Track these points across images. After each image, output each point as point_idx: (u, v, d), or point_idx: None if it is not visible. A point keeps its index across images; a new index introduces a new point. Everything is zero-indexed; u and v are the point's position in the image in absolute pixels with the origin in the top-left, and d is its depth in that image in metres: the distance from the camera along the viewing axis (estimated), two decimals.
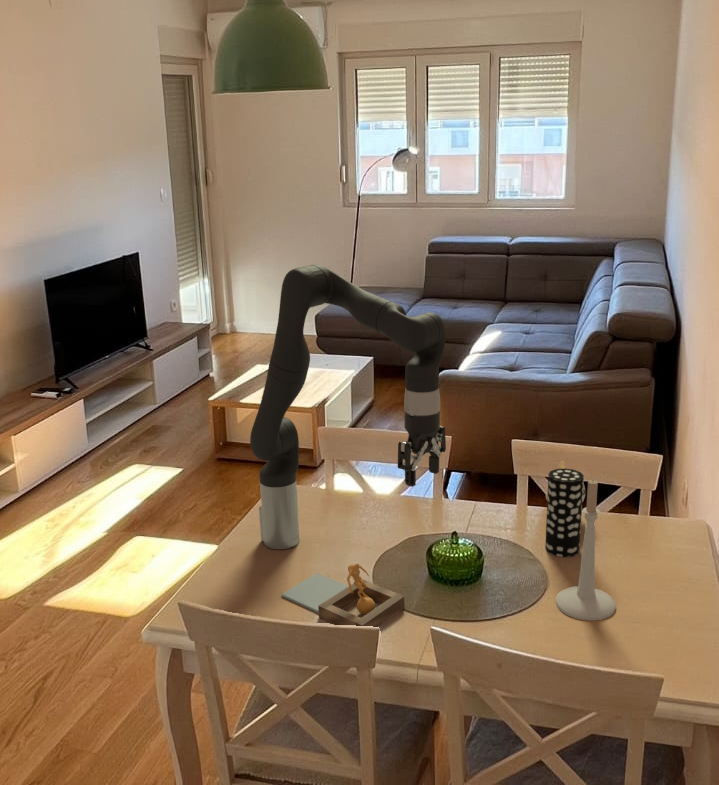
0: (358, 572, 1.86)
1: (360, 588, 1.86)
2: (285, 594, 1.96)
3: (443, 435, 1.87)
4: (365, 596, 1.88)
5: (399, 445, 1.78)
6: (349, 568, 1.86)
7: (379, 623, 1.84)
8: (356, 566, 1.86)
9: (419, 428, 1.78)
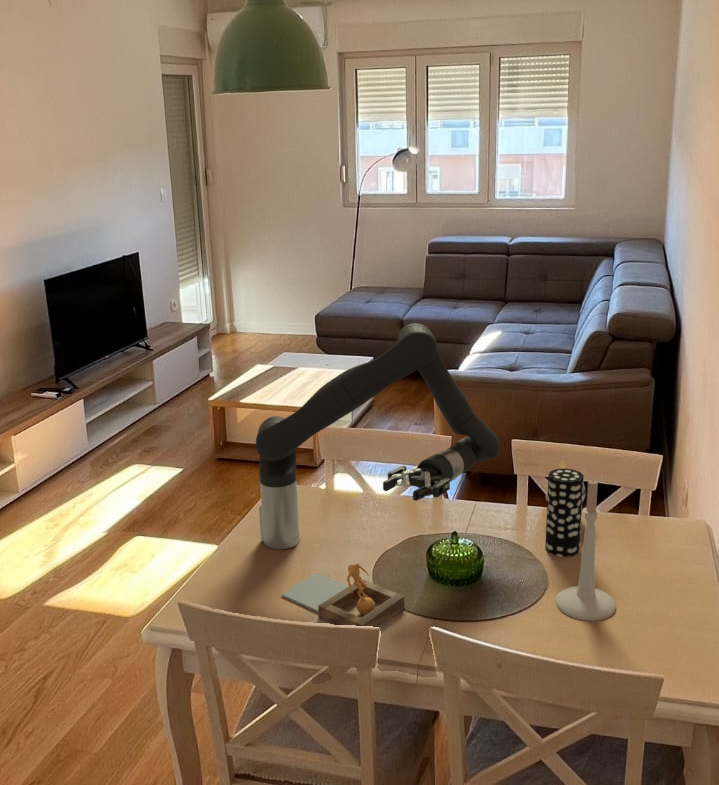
0: (358, 572, 1.86)
1: (360, 588, 1.86)
2: (285, 594, 1.96)
3: None
4: (365, 596, 1.88)
5: (449, 481, 1.94)
6: (349, 568, 1.86)
7: (379, 623, 1.84)
8: (356, 566, 1.86)
9: None
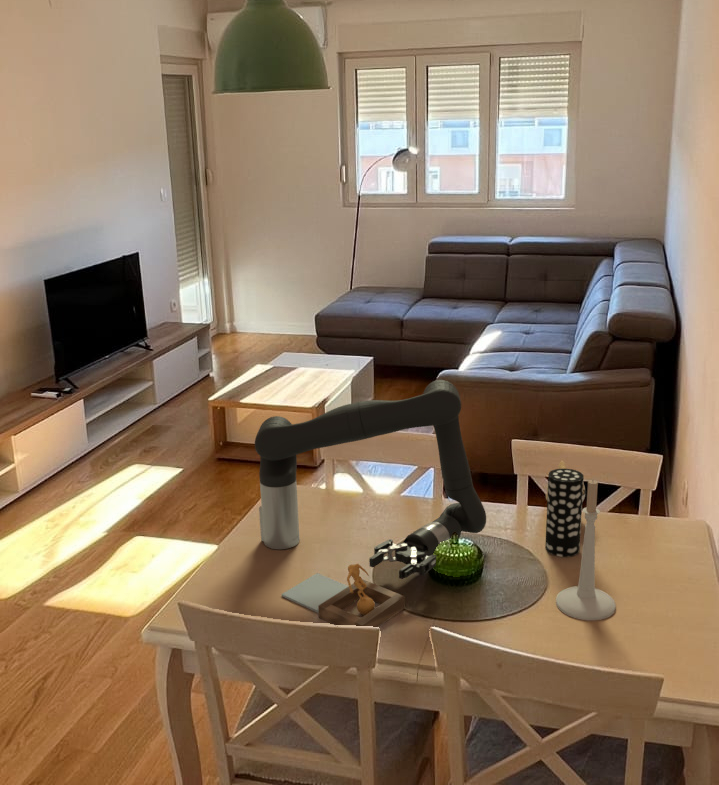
0: (358, 572, 1.86)
1: (360, 588, 1.86)
2: (285, 594, 1.96)
3: None
4: (365, 596, 1.88)
5: (435, 558, 1.96)
6: (349, 568, 1.86)
7: (379, 623, 1.84)
8: (356, 566, 1.86)
9: None
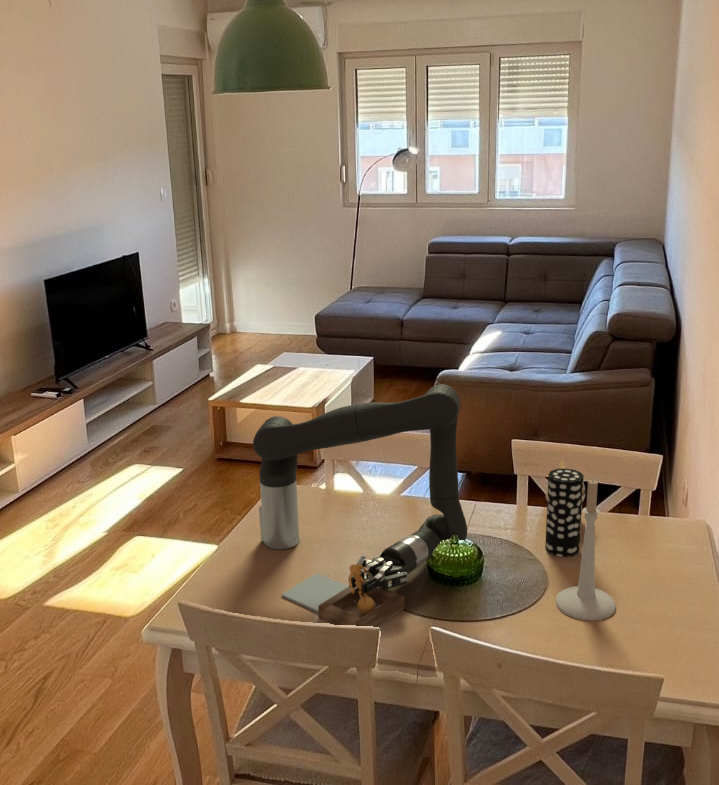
0: (359, 572, 1.86)
1: None
2: (285, 594, 1.96)
3: None
4: (366, 596, 1.88)
5: (405, 575, 1.88)
6: (350, 568, 1.86)
7: (379, 623, 1.84)
8: (358, 566, 1.86)
9: (408, 572, 1.95)
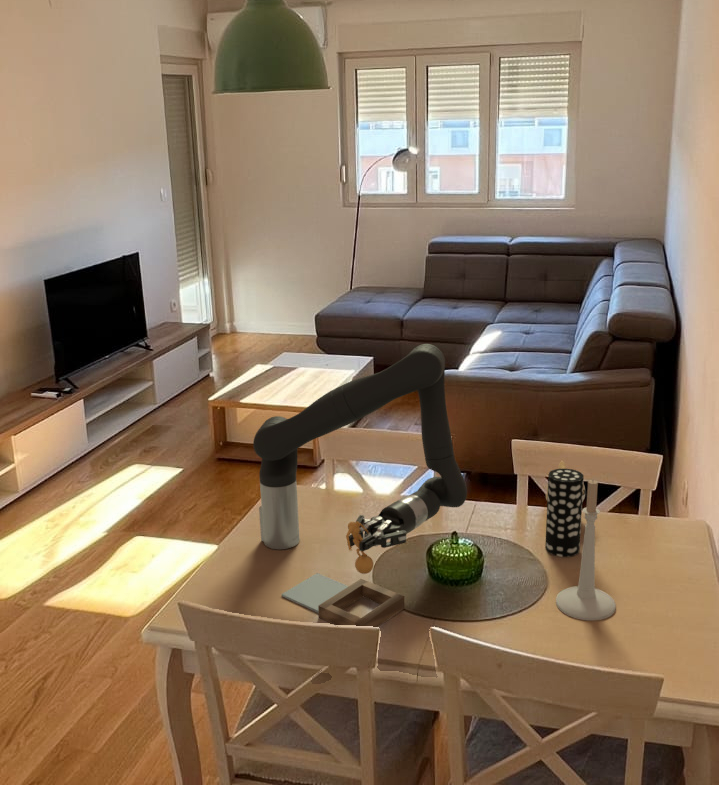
0: (358, 530, 1.83)
1: None
2: (285, 594, 1.96)
3: None
4: (364, 554, 1.85)
5: (404, 534, 1.85)
6: (349, 526, 1.83)
7: (379, 623, 1.84)
8: (356, 524, 1.82)
9: (407, 532, 1.92)
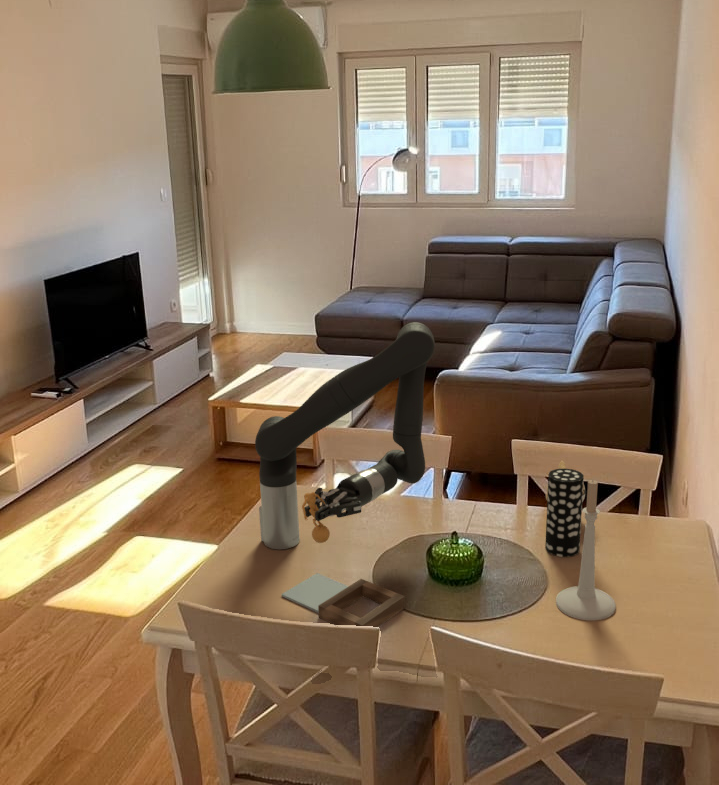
0: (314, 500, 1.90)
1: None
2: (285, 594, 1.96)
3: None
4: (320, 524, 1.92)
5: (359, 504, 1.92)
6: (305, 496, 1.90)
7: (379, 623, 1.84)
8: (312, 494, 1.89)
9: (363, 503, 1.98)
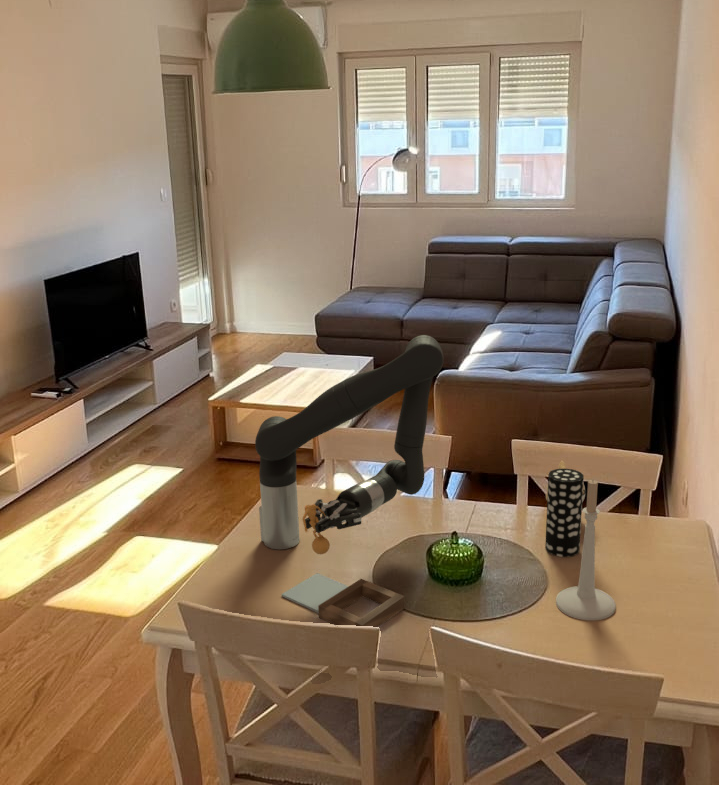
0: (314, 512, 1.91)
1: None
2: (285, 594, 1.96)
3: None
4: (320, 536, 1.93)
5: (359, 516, 1.93)
6: (305, 508, 1.91)
7: (379, 623, 1.84)
8: (312, 506, 1.90)
9: (363, 514, 2.00)
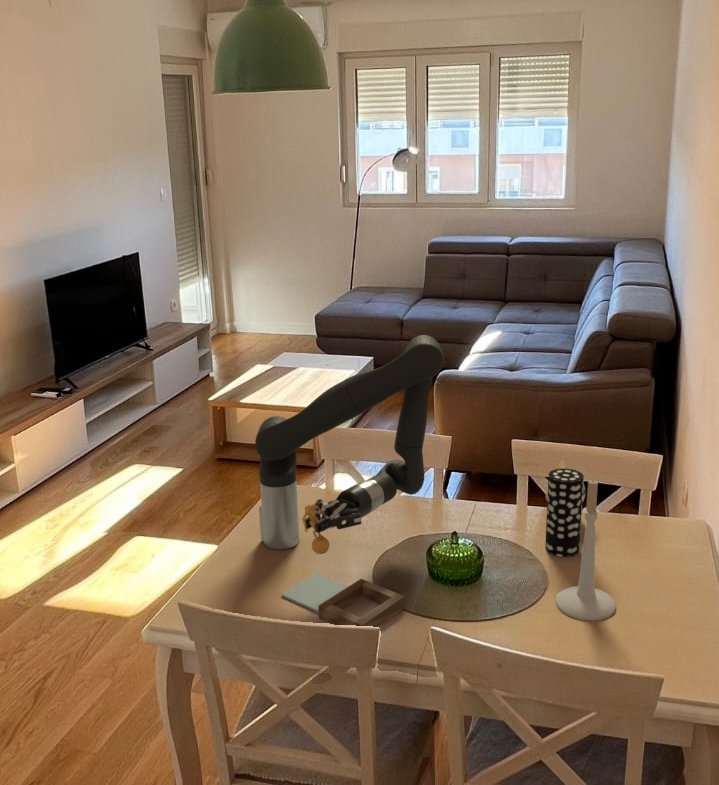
0: (314, 512, 1.91)
1: None
2: (285, 594, 1.96)
3: None
4: (320, 536, 1.93)
5: (359, 516, 1.93)
6: (305, 508, 1.91)
7: (379, 623, 1.84)
8: (312, 506, 1.90)
9: (363, 514, 2.00)
